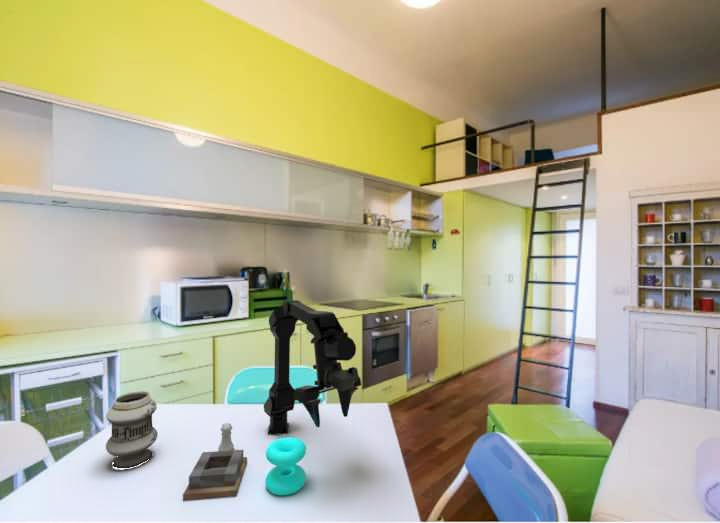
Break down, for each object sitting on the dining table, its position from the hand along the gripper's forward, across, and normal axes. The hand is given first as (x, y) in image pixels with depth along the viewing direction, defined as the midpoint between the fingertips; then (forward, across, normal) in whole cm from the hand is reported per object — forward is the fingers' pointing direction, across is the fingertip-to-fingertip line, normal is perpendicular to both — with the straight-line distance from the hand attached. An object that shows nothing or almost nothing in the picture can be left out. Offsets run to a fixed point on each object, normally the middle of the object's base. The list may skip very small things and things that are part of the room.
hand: (332, 421), depth 89 cm
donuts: (+14, -9, +9) cm, 19 cm away
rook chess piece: (+9, -14, +33) cm, 37 cm away
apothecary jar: (+6, -35, +47) cm, 59 cm away
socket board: (+11, -21, +22) cm, 33 cm away
